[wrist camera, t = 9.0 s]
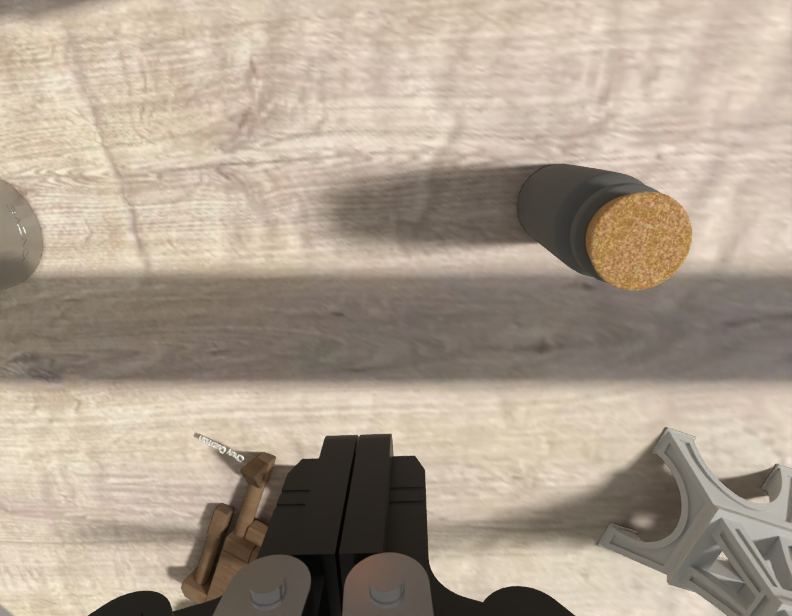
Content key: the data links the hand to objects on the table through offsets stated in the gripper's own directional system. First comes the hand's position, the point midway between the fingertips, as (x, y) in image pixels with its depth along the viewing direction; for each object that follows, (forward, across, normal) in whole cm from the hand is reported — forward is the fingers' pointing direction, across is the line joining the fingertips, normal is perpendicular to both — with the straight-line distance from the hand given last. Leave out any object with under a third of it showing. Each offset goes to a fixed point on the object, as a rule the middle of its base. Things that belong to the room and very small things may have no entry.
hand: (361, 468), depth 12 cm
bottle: (+29, -12, -2) cm, 32 cm away
